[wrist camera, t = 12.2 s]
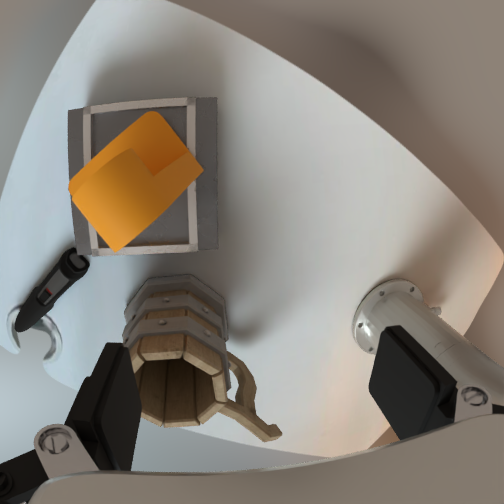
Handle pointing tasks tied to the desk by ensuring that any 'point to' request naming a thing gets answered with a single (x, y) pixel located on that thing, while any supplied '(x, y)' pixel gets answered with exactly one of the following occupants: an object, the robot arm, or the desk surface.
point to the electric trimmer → (51, 288)
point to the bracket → (133, 180)
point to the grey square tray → (191, 199)
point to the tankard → (187, 357)
